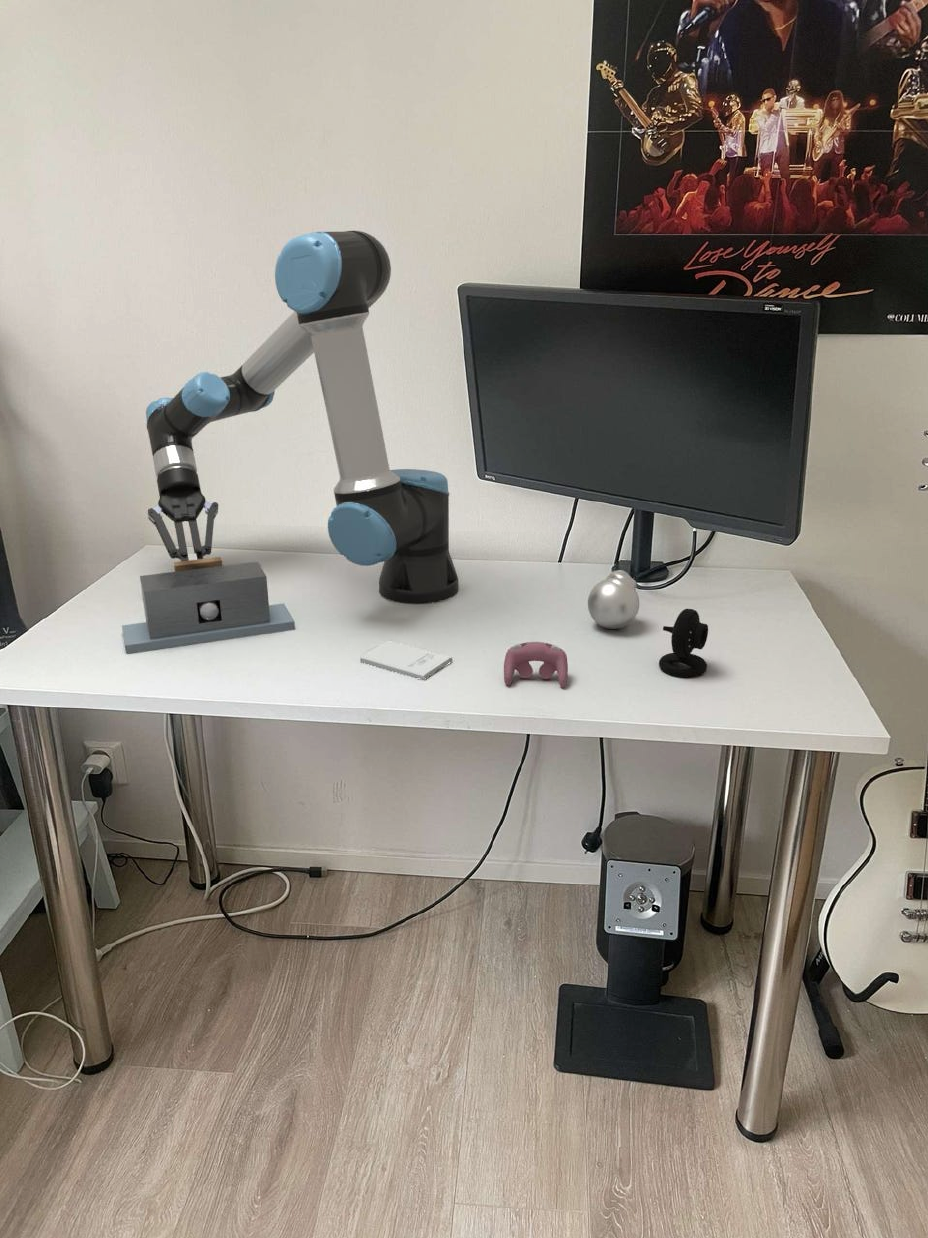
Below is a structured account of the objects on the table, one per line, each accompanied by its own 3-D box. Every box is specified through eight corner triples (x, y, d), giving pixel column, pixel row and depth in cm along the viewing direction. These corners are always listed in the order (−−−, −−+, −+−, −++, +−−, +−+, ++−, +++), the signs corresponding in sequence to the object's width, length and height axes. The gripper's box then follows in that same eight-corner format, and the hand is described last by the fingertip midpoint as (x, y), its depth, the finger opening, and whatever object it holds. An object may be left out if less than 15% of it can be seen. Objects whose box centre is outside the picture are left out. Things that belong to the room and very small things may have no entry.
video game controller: (567, 688, 157) (568, 643, 158) (567, 688, 153) (569, 641, 153) (503, 685, 158) (505, 641, 159) (502, 685, 154) (504, 639, 154)
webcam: (696, 683, 155) (702, 623, 151) (651, 672, 159) (655, 613, 155) (713, 664, 161) (719, 606, 158) (669, 654, 165) (674, 597, 161)
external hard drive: (390, 648, 169) (452, 664, 163) (360, 665, 163) (423, 683, 157) (390, 639, 169) (452, 655, 162) (359, 656, 162) (423, 674, 156)
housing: (284, 610, 183) (280, 558, 179) (295, 629, 175) (291, 575, 171) (123, 633, 174) (115, 578, 170) (126, 653, 166) (118, 597, 162)
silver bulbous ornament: (650, 631, 174) (654, 577, 170) (602, 640, 170) (605, 585, 166) (623, 613, 181) (626, 560, 178) (577, 621, 178) (579, 567, 174)
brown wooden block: (225, 609, 182) (220, 556, 179) (235, 632, 173) (230, 577, 169) (180, 615, 180) (173, 562, 176) (187, 639, 170) (181, 584, 166)
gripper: (212, 483, 194) (233, 593, 186) (141, 489, 190) (160, 602, 182) (213, 462, 187) (235, 575, 179) (140, 468, 183) (159, 585, 175)
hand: (197, 589), depth 181 cm, fingers closed
